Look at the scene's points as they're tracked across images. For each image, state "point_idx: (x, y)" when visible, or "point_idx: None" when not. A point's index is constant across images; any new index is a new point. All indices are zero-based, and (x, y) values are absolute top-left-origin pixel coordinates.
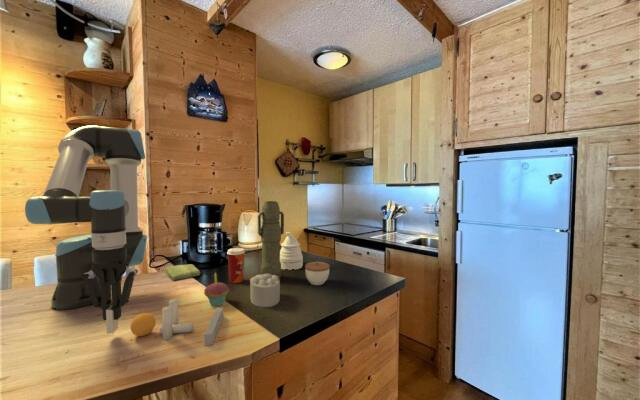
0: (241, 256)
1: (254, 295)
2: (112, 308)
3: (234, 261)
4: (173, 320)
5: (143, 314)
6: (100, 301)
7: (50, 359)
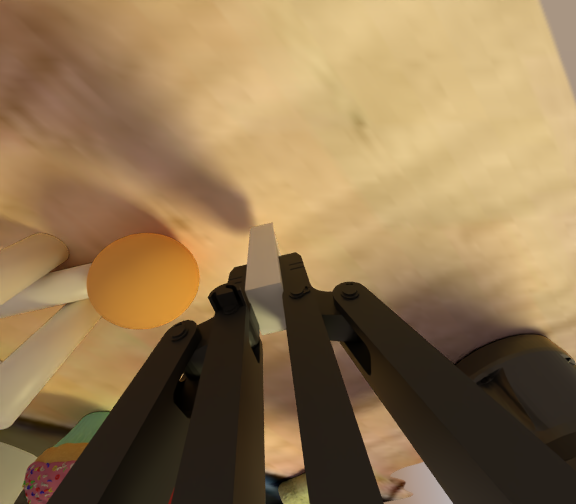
0: None
1: None
2: (228, 292)
3: None
4: (49, 319)
5: (119, 311)
6: (351, 333)
7: (388, 62)
